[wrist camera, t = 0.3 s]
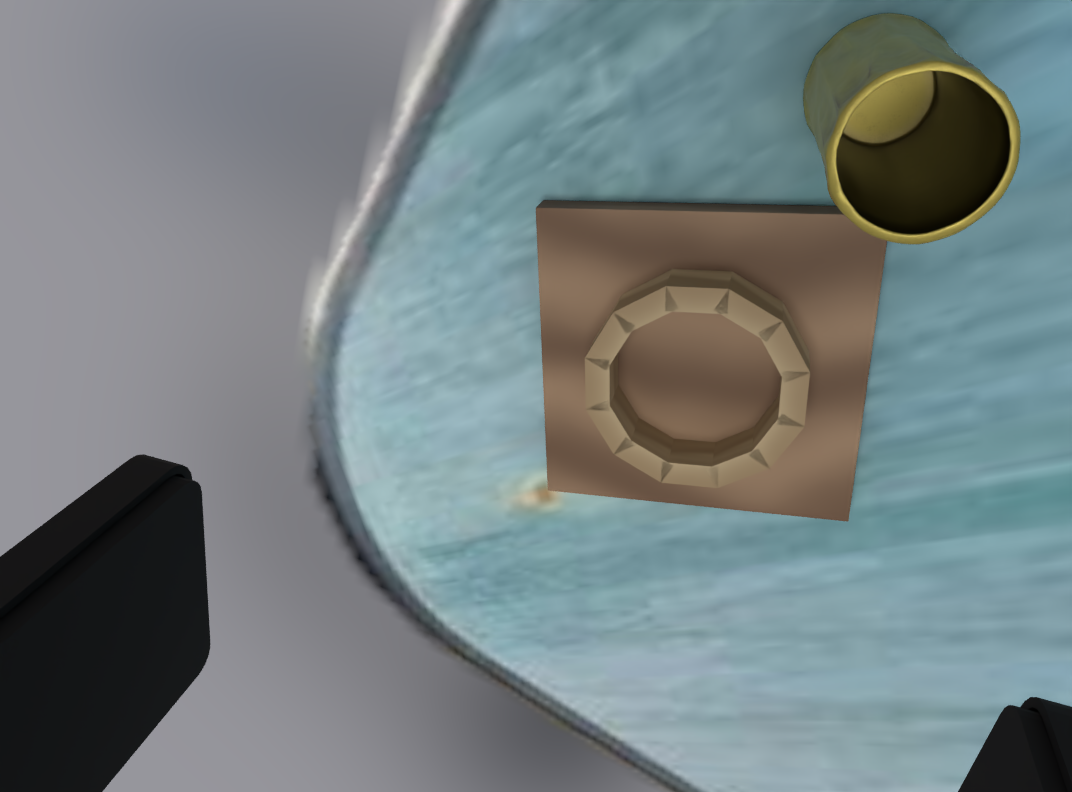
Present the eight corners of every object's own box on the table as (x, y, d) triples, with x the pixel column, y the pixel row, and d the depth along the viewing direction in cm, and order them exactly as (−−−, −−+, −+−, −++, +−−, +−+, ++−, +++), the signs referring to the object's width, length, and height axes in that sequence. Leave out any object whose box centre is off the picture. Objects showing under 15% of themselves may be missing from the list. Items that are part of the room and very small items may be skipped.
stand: (543, 200, 43) (521, 221, 40) (887, 207, 39) (896, 231, 36) (554, 476, 50) (536, 514, 47) (846, 505, 46) (851, 549, 43)
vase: (842, -8, 36) (869, 11, 24) (985, 42, 36) (1088, 87, 23) (780, 135, 39) (775, 217, 27) (911, 182, 39) (968, 288, 26)
